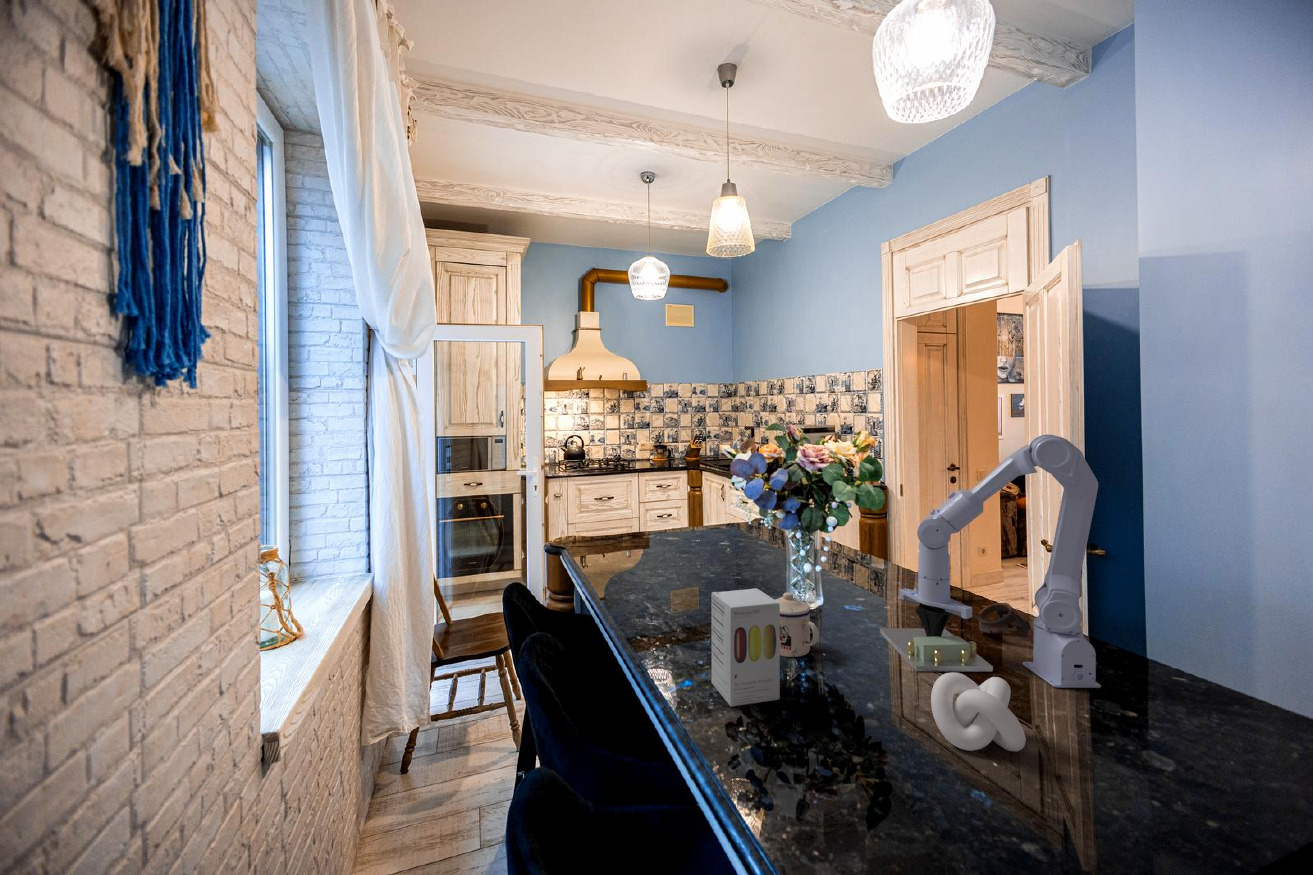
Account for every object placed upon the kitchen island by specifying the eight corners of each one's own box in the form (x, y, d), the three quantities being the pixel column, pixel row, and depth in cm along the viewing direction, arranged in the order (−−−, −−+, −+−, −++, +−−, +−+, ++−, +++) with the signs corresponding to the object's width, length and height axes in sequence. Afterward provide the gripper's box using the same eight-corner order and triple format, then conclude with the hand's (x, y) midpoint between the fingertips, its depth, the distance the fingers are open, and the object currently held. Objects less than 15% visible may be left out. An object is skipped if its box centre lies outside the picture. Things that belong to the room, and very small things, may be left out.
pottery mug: (1040, 652, 113) (1019, 617, 113) (992, 662, 118) (972, 629, 118) (1033, 619, 123) (1014, 587, 123) (989, 629, 128) (971, 599, 128)
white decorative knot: (943, 710, 90) (943, 656, 90) (1032, 735, 83) (1032, 676, 83) (925, 742, 82) (925, 682, 81) (1022, 773, 74) (1022, 707, 74)
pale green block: (969, 659, 107) (969, 644, 107) (923, 660, 106) (923, 645, 106) (957, 650, 111) (957, 636, 111) (913, 652, 110) (913, 637, 110)
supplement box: (730, 708, 92) (728, 607, 92) (710, 683, 101) (708, 591, 100) (782, 699, 95) (781, 601, 94) (758, 676, 103) (757, 586, 103)
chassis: (992, 671, 104) (992, 653, 104) (916, 671, 104) (916, 653, 104) (944, 632, 123) (944, 617, 123) (880, 632, 123) (880, 617, 123)
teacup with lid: (757, 647, 116) (756, 592, 116) (786, 637, 122) (786, 584, 121) (802, 667, 107) (801, 607, 106) (832, 655, 112) (831, 598, 112)
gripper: (981, 582, 108) (981, 651, 108) (914, 565, 120) (914, 627, 121) (959, 588, 104) (959, 659, 104) (892, 570, 117) (893, 634, 117)
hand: (934, 643), depth 112 cm, fingers closed
